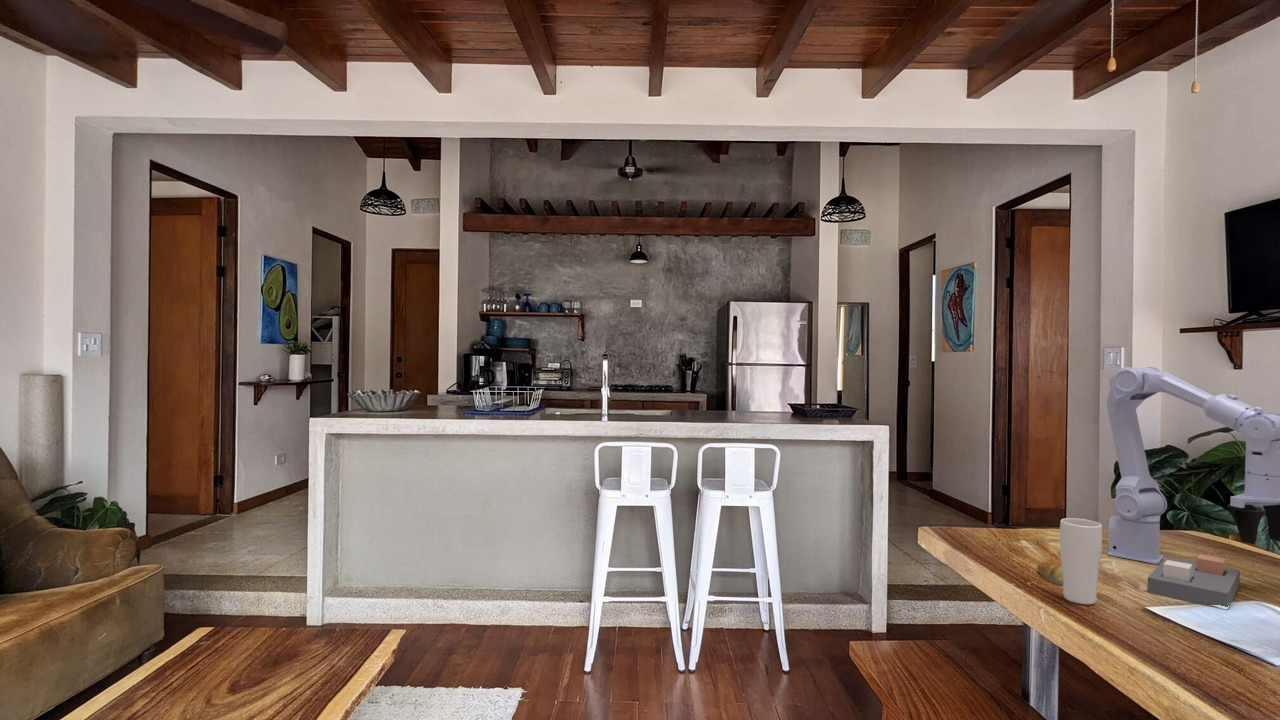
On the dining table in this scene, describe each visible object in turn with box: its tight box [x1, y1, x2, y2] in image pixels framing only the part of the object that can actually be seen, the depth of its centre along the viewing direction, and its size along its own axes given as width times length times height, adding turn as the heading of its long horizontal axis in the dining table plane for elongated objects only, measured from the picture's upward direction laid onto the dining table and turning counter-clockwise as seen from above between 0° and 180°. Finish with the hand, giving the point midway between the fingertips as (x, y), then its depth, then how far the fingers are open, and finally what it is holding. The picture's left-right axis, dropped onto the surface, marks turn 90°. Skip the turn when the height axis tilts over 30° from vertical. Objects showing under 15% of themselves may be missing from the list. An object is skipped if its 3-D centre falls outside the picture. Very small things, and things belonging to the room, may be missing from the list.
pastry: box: [1036, 561, 1063, 587], centre depth 141 cm, size 9×7×4 cm
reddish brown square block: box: [1196, 553, 1226, 576], centre depth 138 cm, size 4×4×3 cm
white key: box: [1163, 560, 1193, 582], centre depth 134 cm, size 4×4×3 cm
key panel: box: [1146, 556, 1241, 607], centre depth 136 cm, size 12×20×3 cm, turn 134°
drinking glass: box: [1059, 517, 1103, 605], centre depth 129 cm, size 7×7×15 cm
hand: (1262, 541), depth 135 cm, fingers open, 7 cm apart
